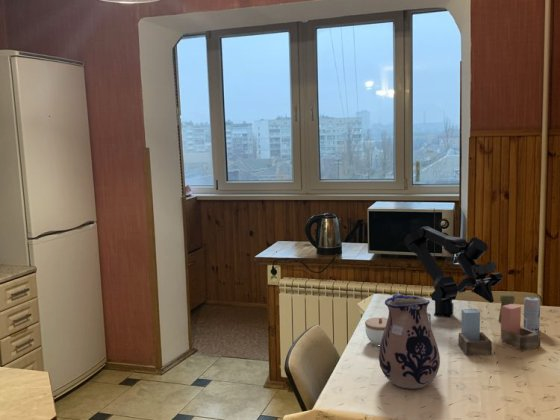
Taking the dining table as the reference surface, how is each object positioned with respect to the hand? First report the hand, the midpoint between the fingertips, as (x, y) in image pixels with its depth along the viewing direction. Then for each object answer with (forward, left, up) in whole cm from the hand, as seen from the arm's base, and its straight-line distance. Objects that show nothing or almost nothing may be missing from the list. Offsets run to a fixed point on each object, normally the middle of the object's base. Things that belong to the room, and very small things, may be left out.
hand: (492, 302), depth 200 cm
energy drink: (+13, +9, -12) cm, 20 cm away
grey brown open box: (-3, -19, -12) cm, 23 cm away
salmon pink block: (+7, -5, -12) cm, 14 cm away
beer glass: (-18, -33, -12) cm, 40 cm away
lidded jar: (-34, -25, -12) cm, 44 cm away
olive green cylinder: (+4, +15, -12) cm, 20 cm away
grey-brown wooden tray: (+10, -8, -12) cm, 17 cm away
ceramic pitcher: (-18, -51, -12) cm, 56 cm away
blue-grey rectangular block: (-5, -15, -12) cm, 20 cm away
